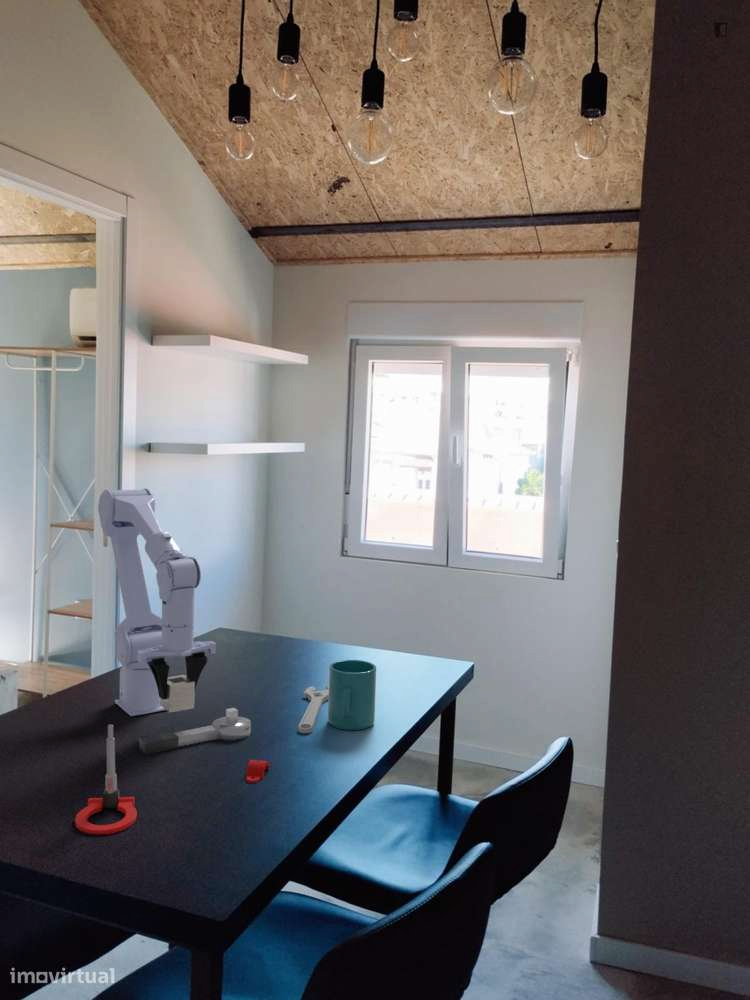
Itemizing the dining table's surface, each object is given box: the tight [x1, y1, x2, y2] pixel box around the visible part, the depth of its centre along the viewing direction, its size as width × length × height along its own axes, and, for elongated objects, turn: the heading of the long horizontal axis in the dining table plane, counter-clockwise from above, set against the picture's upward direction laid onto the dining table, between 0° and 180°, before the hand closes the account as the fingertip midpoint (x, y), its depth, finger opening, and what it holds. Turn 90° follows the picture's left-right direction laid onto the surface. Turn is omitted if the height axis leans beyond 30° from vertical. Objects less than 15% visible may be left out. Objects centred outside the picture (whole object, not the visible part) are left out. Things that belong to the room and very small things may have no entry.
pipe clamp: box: [245, 759, 271, 784], centre depth 140 cm, size 8×3×2 cm, turn 172°
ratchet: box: [138, 707, 252, 755], centre depth 153 cm, size 7×20×4 cm, turn 126°
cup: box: [327, 659, 377, 731], centre depth 162 cm, size 9×12×11 cm
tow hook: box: [74, 723, 138, 835], centre depth 122 cm, size 8×13×9 cm
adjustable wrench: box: [298, 684, 329, 734], centre depth 170 cm, size 25×6×2 cm, turn 171°
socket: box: [160, 674, 196, 713], centre depth 157 cm, size 5×5×5 cm
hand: (176, 695), depth 157 cm, fingers closed on socket, 5 cm apart
